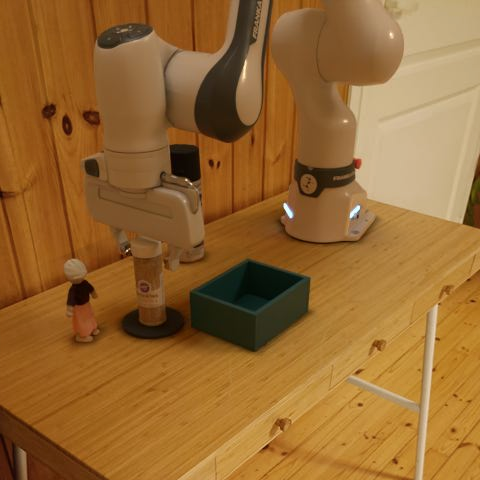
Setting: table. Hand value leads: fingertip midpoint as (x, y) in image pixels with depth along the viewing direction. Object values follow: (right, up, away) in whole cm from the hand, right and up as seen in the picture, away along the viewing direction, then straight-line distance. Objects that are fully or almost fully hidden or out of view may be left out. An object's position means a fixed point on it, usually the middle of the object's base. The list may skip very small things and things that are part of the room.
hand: (148, 261), depth 92 cm
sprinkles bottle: (0, -8, +6) cm, 10 cm away
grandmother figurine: (-10, -11, +3) cm, 16 cm away
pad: (0, -8, +7) cm, 11 cm away
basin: (+16, -7, +8) cm, 19 cm away
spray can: (+3, +8, +27) cm, 28 cm away
